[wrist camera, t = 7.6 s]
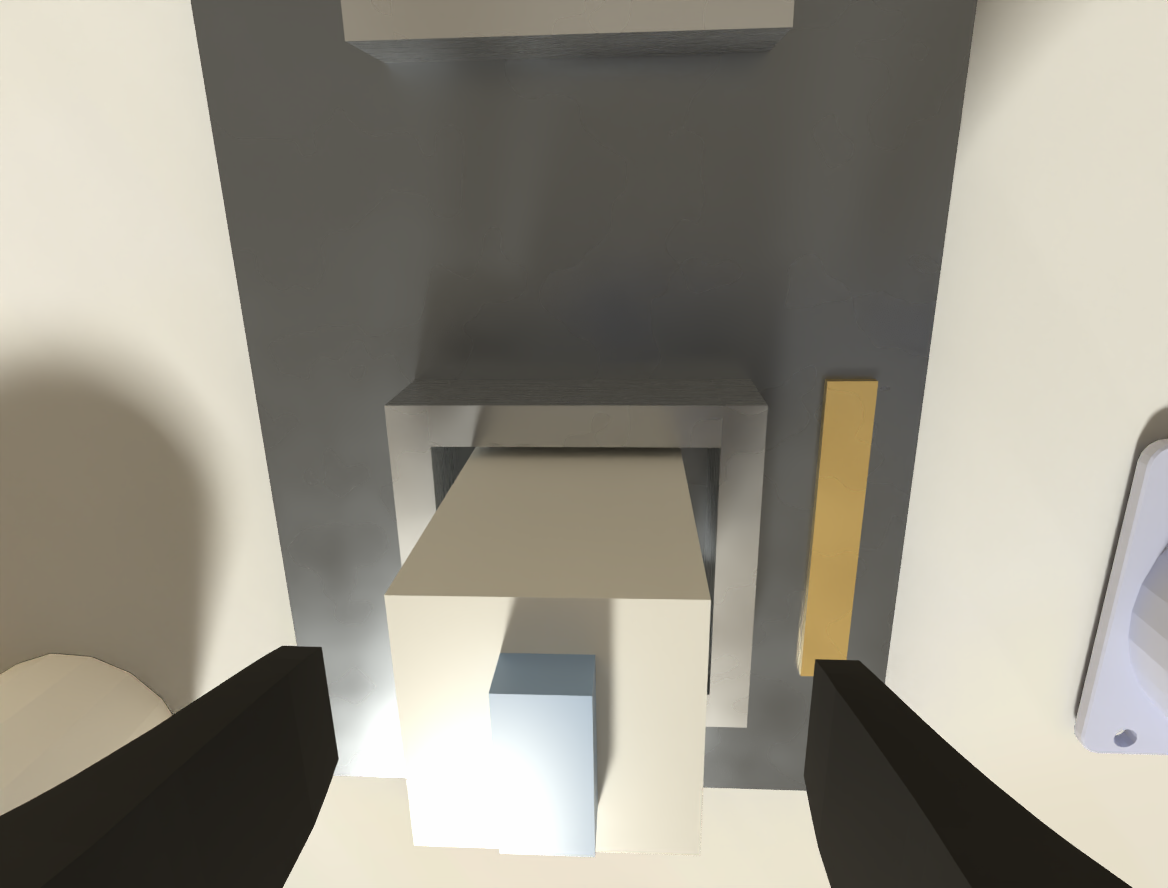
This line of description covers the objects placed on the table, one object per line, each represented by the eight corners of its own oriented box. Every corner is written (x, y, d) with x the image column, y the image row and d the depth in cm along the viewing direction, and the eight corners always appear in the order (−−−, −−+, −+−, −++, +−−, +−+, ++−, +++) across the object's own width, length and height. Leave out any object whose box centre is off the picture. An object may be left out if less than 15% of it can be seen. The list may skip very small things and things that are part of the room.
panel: (1039, -664, 11) (1184, -973, 8) (857, 763, 19) (898, 861, 16) (127, -584, 12) (-36, -838, 9) (333, 747, 20) (284, 838, 17)
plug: (676, 426, 15) (717, 638, 8) (672, 594, 17) (706, 909, 9) (487, 426, 16) (361, 631, 8) (498, 592, 17) (397, 896, 10)
